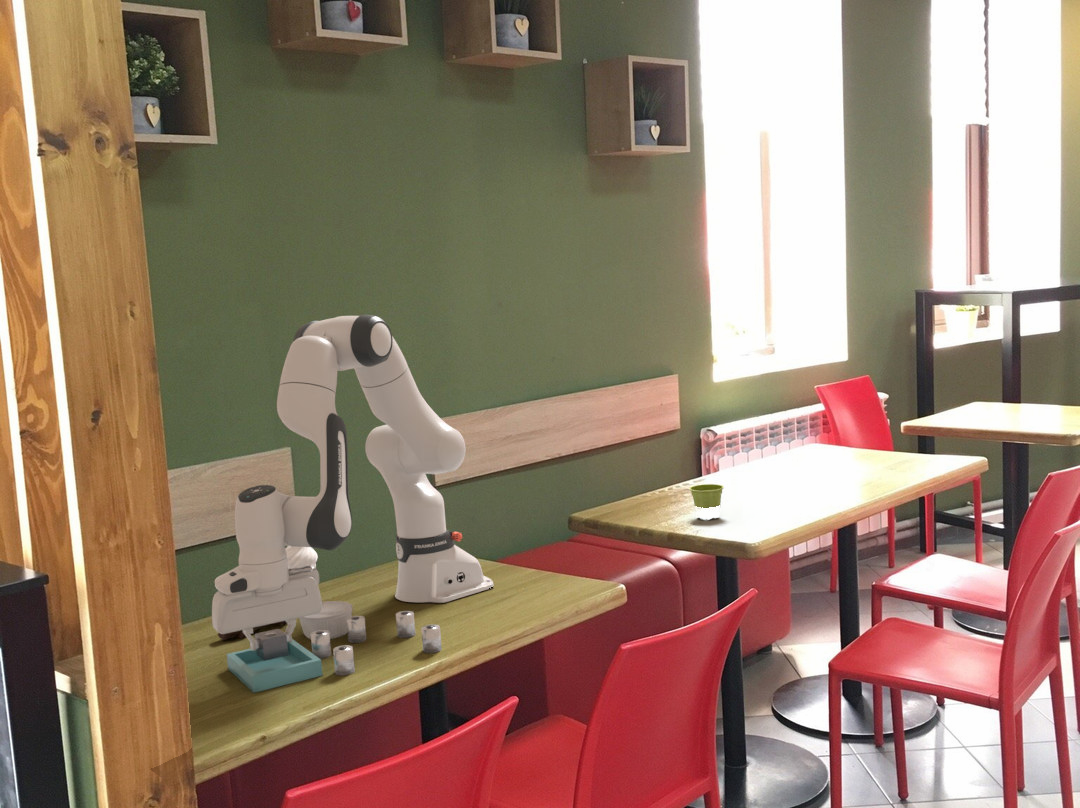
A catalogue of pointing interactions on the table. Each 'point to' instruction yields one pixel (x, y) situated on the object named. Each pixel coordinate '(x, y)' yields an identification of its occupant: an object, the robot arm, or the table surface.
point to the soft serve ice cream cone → (301, 557)
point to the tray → (274, 667)
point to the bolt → (240, 633)
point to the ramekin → (328, 619)
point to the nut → (272, 644)
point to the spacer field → (358, 634)
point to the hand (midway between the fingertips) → (271, 646)
